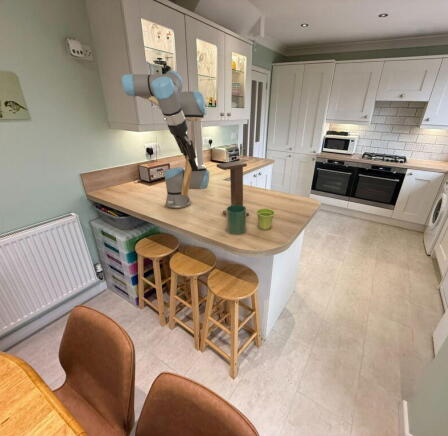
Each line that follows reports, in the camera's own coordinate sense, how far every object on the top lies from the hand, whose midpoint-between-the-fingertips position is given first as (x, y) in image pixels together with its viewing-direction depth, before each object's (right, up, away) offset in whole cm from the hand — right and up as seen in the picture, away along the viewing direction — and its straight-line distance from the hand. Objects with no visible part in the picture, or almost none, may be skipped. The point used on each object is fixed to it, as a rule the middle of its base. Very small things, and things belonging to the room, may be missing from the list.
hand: (193, 168), depth 111 cm
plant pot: (+35, -29, +12) cm, 47 cm away
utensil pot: (+20, -30, +9) cm, 37 cm away
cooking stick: (-4, -3, -1) cm, 5 cm away
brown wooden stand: (+18, -22, +25) cm, 38 cm away
